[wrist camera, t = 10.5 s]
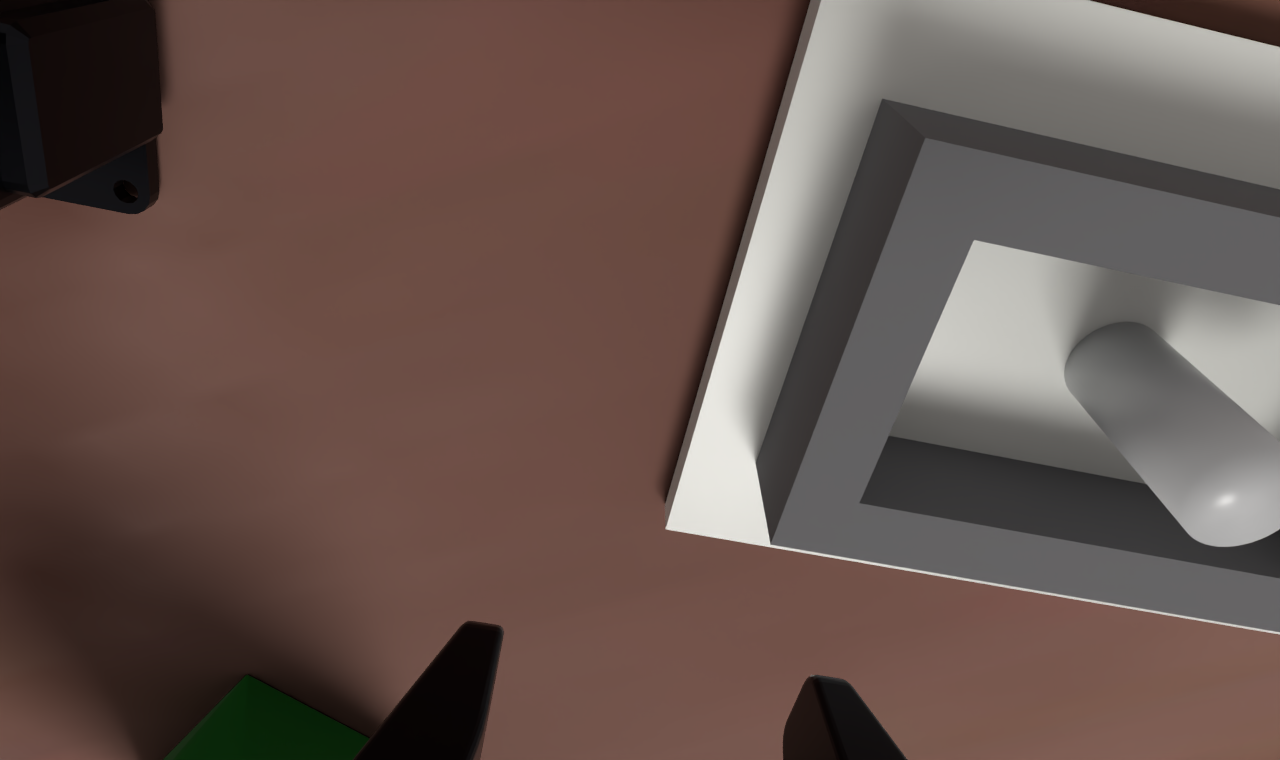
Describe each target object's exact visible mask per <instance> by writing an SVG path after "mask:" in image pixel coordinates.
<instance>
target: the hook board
mask: <svg viewBox="0 0 1280 760" xmlns="http://www.w3.org/2000/svg"><path fill="white" fill-rule="evenodd" d="M882 99H886V100H891V101H895V102H900V103H904V104H908V105H913V106H917V107H921V108H926V109H930V110H935V111H939V112H943V113H948V114H952V115H956V116H961V117H965V118H970V119H974V120H978V121H983V122H987V123H991V124H996V125H1000V126H1005V127H1009V128H1013V129H1018V130H1022V131H1026V132H1031V133H1035V134H1040V135H1044V136H1048V137H1053V138H1057V139H1061V140H1066V141H1070V142H1075V143H1079V144H1083V145H1088V146H1092V147H1096V148H1101V149H1105V150H1110V151H1114V152H1118V153H1123V154H1127V155H1131V156H1136V157H1140V158H1145V159H1149V160H1153V161H1158V162H1162V163H1166V164H1171V165H1175V166H1180V167H1184V168H1188V169H1193V170H1197V171H1201V172H1206V173H1210V174H1215V175H1219V176H1223V177H1228V178H1232V179H1236V180H1241V181H1245V182H1250V183H1254V184H1258V185H1263V186H1267V187H1271V188H1276V189H1280V47H1278V46H1274V45H1269V44H1265V43H1261V42H1257V41H1253V40H1249V39H1245V38H1241V37H1237V36H1233V35H1229V34H1225V33H1221V32H1217V31H1212V30H1208V29H1204V28H1200V27H1196V26H1192V25H1188V24H1184V23H1180V22H1176V21H1172V20H1168V19H1164V18H1160V17H1156V16H1151V15H1147V14H1143V13H1139V12H1135V11H1131V10H1127V9H1123V8H1119V7H1115V6H1111V5H1107V4H1103V3H1099V2H1094V1H1090V0H811V1H810V4H809V7H808V11H807V14H806V18H805V21H804V25H803V28H802V32H801V35H800V39H799V42H798V46H797V49H796V52H795V56H794V59H793V63H792V66H791V70H790V73H789V77H788V80H787V84H786V87H785V91H784V94H783V98H782V101H781V104H780V108H779V111H778V115H777V118H776V122H775V125H774V129H773V132H772V136H771V139H770V143H769V146H768V150H767V153H766V156H765V160H764V163H763V167H762V170H761V174H760V177H759V181H758V184H757V188H756V191H755V195H754V198H753V202H752V205H751V208H750V212H749V215H748V219H747V222H746V226H745V229H744V233H743V236H742V240H741V243H740V247H739V250H738V253H737V257H736V260H735V264H734V267H733V271H732V274H731V278H730V281H729V285H728V288H727V292H726V295H725V299H724V302H723V305H722V309H721V312H720V316H719V319H718V323H717V326H716V330H715V333H714V337H713V340H712V344H711V347H710V351H709V354H708V357H707V361H706V364H705V368H704V371H703V375H702V378H701V382H700V385H699V389H698V392H697V396H696V399H695V402H694V406H693V409H692V413H691V416H690V420H689V423H688V427H687V430H686V434H685V437H684V441H683V444H682V448H681V451H680V454H679V458H678V461H677V465H676V468H675V472H674V475H673V479H672V482H671V486H670V489H669V493H668V496H667V500H666V503H665V527H666V529H668V530H673V531H679V532H685V533H691V534H697V535H703V536H708V537H714V538H720V539H726V540H732V541H738V542H743V543H749V544H755V545H761V546H767V547H773V548H778V549H784V550H790V551H796V552H802V553H808V554H813V555H819V556H825V557H831V558H837V559H843V560H848V561H854V562H860V563H866V564H872V565H878V566H883V567H889V568H895V569H901V570H907V571H913V572H919V573H924V574H930V575H936V576H942V577H948V578H954V579H959V580H965V581H971V582H977V583H983V584H989V585H994V586H1000V587H1006V588H1012V589H1018V590H1024V591H1029V592H1035V593H1041V594H1047V595H1053V596H1059V597H1064V598H1070V599H1076V600H1082V601H1088V602H1094V603H1099V604H1105V605H1111V606H1117V607H1123V608H1129V609H1134V610H1140V611H1146V612H1152V613H1158V614H1164V615H1170V616H1175V617H1181V618H1187V619H1193V620H1199V621H1205V622H1210V623H1216V624H1222V625H1228V626H1234V627H1240V628H1245V629H1251V630H1257V631H1263V632H1269V633H1275V634H1280V632H1275V631H1269V630H1263V629H1258V628H1252V627H1246V626H1240V625H1234V624H1228V623H1223V622H1217V621H1211V620H1205V619H1199V618H1194V617H1188V616H1182V615H1176V614H1170V613H1165V612H1159V611H1153V610H1147V609H1141V608H1136V607H1130V606H1124V605H1118V604H1112V603H1107V602H1101V601H1095V600H1089V599H1083V598H1077V597H1072V596H1066V595H1060V594H1054V593H1048V592H1043V591H1037V590H1031V589H1025V588H1019V587H1014V586H1008V585H1002V584H996V583H990V582H985V581H979V580H973V579H967V578H961V577H956V576H950V575H944V574H938V573H932V572H927V571H921V570H915V569H909V568H903V567H897V566H892V565H886V564H880V563H874V562H868V561H863V560H857V559H851V558H845V557H839V556H834V555H828V554H822V553H816V552H810V551H805V550H799V549H793V548H787V547H781V546H776V545H771V544H770V539H769V534H768V528H767V523H766V517H765V512H764V507H763V501H762V496H761V490H760V485H759V480H758V474H757V469H756V461H757V458H758V455H759V452H760V449H761V446H762V444H763V441H764V438H765V435H766V432H767V429H768V426H769V423H770V421H771V418H772V415H773V412H774V409H775V406H776V403H777V400H778V397H779V395H780V392H781V389H782V386H783V383H784V380H785V377H786V374H787V372H788V369H789V366H790V363H791V360H792V357H793V354H794V351H795V348H796V346H797V343H798V340H799V337H800V334H801V331H802V328H803V325H804V323H805V320H806V317H807V314H808V311H809V308H810V305H811V302H812V299H813V297H814V294H815V291H816V288H817V285H818V282H819V279H820V276H821V274H822V271H823V268H824V265H825V262H826V259H827V256H828V253H829V251H830V248H831V245H832V242H833V239H834V236H835V233H836V230H837V227H838V225H839V222H840V219H841V216H842V213H843V210H844V207H845V204H846V202H847V199H848V196H849V193H850V190H851V187H852V184H853V181H854V178H855V176H856V173H857V170H858V167H859V164H860V161H861V158H862V155H863V153H864V150H865V147H866V144H867V141H868V138H869V135H870V132H871V129H872V127H873V124H874V121H875V118H876V115H877V112H878V109H879V106H880V104H881V101H882ZM889 436H893V437H899V438H904V439H909V440H915V441H920V442H925V443H931V444H936V445H941V446H947V447H952V448H957V449H963V450H968V451H973V452H979V453H984V454H989V455H994V456H1000V457H1005V458H1010V459H1016V460H1021V461H1026V462H1032V463H1037V464H1042V465H1048V466H1053V467H1058V468H1064V469H1069V470H1074V471H1080V472H1085V473H1090V474H1096V475H1101V476H1106V477H1112V478H1117V479H1122V480H1128V481H1133V482H1138V483H1144V484H1147V485H1148V486H1149V487H1150V489H1151V490H1152V491H1153V492H1154V493H1155V495H1156V496H1157V497H1158V498H1159V499H1160V501H1161V502H1162V503H1163V504H1164V505H1165V507H1166V508H1167V509H1168V510H1169V511H1170V513H1171V514H1172V515H1173V516H1174V517H1175V519H1176V520H1177V521H1178V522H1179V523H1180V525H1181V526H1182V527H1183V528H1184V529H1185V531H1186V532H1187V533H1188V534H1189V535H1190V536H1191V537H1192V538H1193V539H1195V540H1197V541H1199V542H1201V543H1203V544H1207V545H1211V546H1218V547H1231V546H1239V545H1244V544H1248V543H1252V542H1255V541H1257V540H1260V539H1262V538H1265V537H1267V536H1269V535H1271V534H1273V533H1274V532H1276V531H1278V530H1279V529H1280V305H1276V304H1271V303H1267V302H1262V301H1257V300H1253V299H1248V298H1243V297H1239V296H1234V295H1229V294H1225V293H1220V292H1215V291H1211V290H1206V289H1201V288H1197V287H1192V286H1187V285H1183V284H1178V283H1173V282H1168V281H1164V280H1159V279H1154V278H1150V277H1145V276H1140V275H1136V274H1131V273H1126V272H1122V271H1117V270H1112V269H1108V268H1103V267H1098V266H1094V265H1089V264H1084V263H1080V262H1075V261H1070V260H1066V259H1061V258H1056V257H1052V256H1047V255H1042V254H1038V253H1033V252H1028V251H1024V250H1019V249H1014V248H1009V247H1005V246H1000V245H995V244H991V243H986V242H981V241H977V240H974V241H973V243H972V245H971V248H970V250H969V252H968V255H967V257H966V259H965V262H964V264H963V266H962V268H961V271H960V273H959V275H958V278H957V280H956V282H955V284H954V287H953V289H952V291H951V294H950V296H949V298H948V301H947V303H946V305H945V307H944V310H943V312H942V314H941V317H940V319H939V321H938V324H937V326H936V328H935V330H934V333H933V335H932V337H931V340H930V342H929V344H928V346H927V349H926V351H925V353H924V356H923V358H922V360H921V363H920V365H919V367H918V369H917V372H916V374H915V376H914V379H913V381H912V383H911V386H910V388H909V390H908V392H907V395H906V397H905V399H904V402H903V404H902V406H901V409H900V411H899V413H898V415H897V418H896V420H895V422H894V425H893V427H892V429H891V431H890V434H889Z"/></svg>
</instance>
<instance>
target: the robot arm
mask: <svg viewBox="0 0 1280 760" xmlns="http://www.w3.org/2000/svg"><path fill="white" fill-rule="evenodd" d="M162 130H163V123H162V109H161V94H160V80H159V66H158V52H157V37H156V23H155V11H154V9H153V7H152V6H151V4H150V3H149V2H148V0H0V210H1V209H3V208H5V207H7V206H9V205H11V204H13V203H15V202H17V201H19V200H21V199H23V198H25V197H27V196H29V197H34V198H39V197H45V198H50V199H55V200H60V201H65V202H70V203H75V204H81V205H86V206H91V207H96V208H101V209H106V210H111V211H116V212H121V213H126V214H138V213H140V212H142V211H145V210H146V209H148V208H149V207H151V206H152V205H154V204H155V202H156V201H157V200H158V196H159V180H158V167H157V153H156V140H155V138H156V137H157V136H158V135H159V134H160V133H161V132H162ZM124 180H126V181H128V182H130V183H132V184H133V185H134V186H135V187H136V189H137V192H138V197H135V196H132V195H130V194H129V193H128V192H127V191H126V190H125V187H124V184H123V182H124ZM503 635H504V631H503V628H502V627H501V626H499V625H495V624H488V623H482V622H475V621H467V622H465V623H464V624H463V625H461V627H460V628H459V629H458V630H457V631H456V633H455V634H454V635H453V636H452V638H451V639H450V640H449V641H448V642H447V644H446V645H445V646H444V647H443V649H442V650H441V651H440V652H439V654H438V655H437V656H436V657H435V659H434V660H433V661H432V662H431V663H430V665H429V666H428V667H427V668H426V670H425V671H424V672H423V673H422V675H421V676H420V677H419V678H418V680H417V681H416V682H415V683H414V685H413V686H412V687H411V688H410V689H409V691H408V692H407V693H406V694H405V696H404V697H403V698H402V699H401V701H400V702H399V703H398V704H397V706H396V707H395V708H394V709H393V711H392V712H391V713H390V714H389V715H388V717H387V718H386V719H385V720H384V722H383V723H382V724H381V725H380V727H379V728H378V729H377V730H376V732H375V733H374V734H373V735H372V736H371V738H370V739H369V740H368V741H367V743H366V744H365V745H364V746H363V748H362V749H361V750H360V751H359V753H358V754H357V755H356V756H355V758H354V759H353V760H480V757H481V752H482V747H483V742H484V736H485V731H486V726H487V721H488V715H489V710H490V705H491V700H492V694H493V689H494V684H495V678H496V673H497V668H498V662H499V657H500V651H501V646H502V641H503ZM783 760H907V759H906V757H905V756H904V755H903V753H902V752H901V751H900V749H899V748H898V747H897V745H896V744H895V743H894V741H893V740H892V739H891V737H890V736H889V735H888V733H887V732H886V731H885V729H884V728H883V727H882V725H881V724H880V723H879V721H878V720H877V719H876V717H875V716H874V715H873V713H872V712H871V711H870V709H869V708H868V707H867V705H866V704H865V703H864V701H863V700H862V699H861V697H860V696H859V695H858V693H857V692H856V691H855V689H854V688H853V687H852V686H851V684H849V683H848V682H847V681H845V680H843V679H839V678H833V677H826V676H820V675H811V676H810V677H808V678H807V679H806V681H805V682H804V684H803V686H802V689H801V691H800V693H799V695H798V697H797V700H796V702H795V704H794V706H793V708H792V711H791V713H790V715H789V717H788V719H787V722H786V725H785V729H784V735H783Z"/></svg>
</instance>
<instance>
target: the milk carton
mask: <svg viewBox="0 0 1280 760" xmlns="http://www.w3.org/2000/svg"><path fill="white" fill-rule="evenodd" d="M369 739H370V738H368V737H366V736H364V735H362V734H360V733H358V732H356V731H354V730H352V729H350V728H349V727H347V726H345V725H343V724H341V723H339V722H337V721H335V720H333V719H331V718H329V717H328V716H326V715H324V714H322V713H320V712H318V711H316V710H314V709H312V708H310V707H308V706H307V705H305V704H303V703H301V702H299V701H297V700H295V699H293V698H291V697H289V696H287V695H286V694H284V693H282V692H280V691H278V690H276V689H274V688H272V687H270V686H268V685H266V684H265V683H263V682H261V681H259V680H257V679H255V678H253V677H251V676H249V675H246V676H245V677H244V678H243V679H242V680H241V681H240V682H239V683H238V684H237V685H236V686H235V687H234V688H233V689H232V690H231V691H230V692H229V693H228V694H227V695H226V696H225V697H224V698H223V699H222V700H221V701H220V702H219V703H218V704H217V705H216V706H215V707H214V708H213V709H212V710H211V711H210V712H209V713H208V714H207V715H206V716H205V717H204V718H203V719H202V720H201V721H200V722H199V723H198V724H197V725H196V726H195V727H194V728H193V729H192V731H191V732H190V733H189V734H188V735H187V736H186V737H185V738H184V739H183V740H182V741H181V742H180V743H179V744H178V745H177V746H176V747H175V748H174V749H173V750H172V751H171V752H170V753H169V754H168V755H167V756H166V757H165V758H164V759H163V760H353V759H354V758H355V756H356V755H357V754H358V753H359V751H360V750H361V749H362V748H363V746H364V745H365V744H366V743H367V741H368V740H369Z"/></svg>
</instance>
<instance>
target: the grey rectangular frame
mask: <svg viewBox="0 0 1280 760" xmlns="http://www.w3.org/2000/svg"><path fill="white" fill-rule="evenodd" d="M974 240H977V241H981V242H986V243H991V244H995V245H1000V246H1005V247H1009V248H1014V249H1019V250H1024V251H1028V252H1033V253H1038V254H1042V255H1047V256H1052V257H1056V258H1061V259H1066V260H1070V261H1075V262H1080V263H1084V264H1089V265H1094V266H1098V267H1103V268H1108V269H1112V270H1117V271H1122V272H1126V273H1131V274H1136V275H1140V276H1145V277H1150V278H1154V279H1159V280H1164V281H1168V282H1173V283H1178V284H1183V285H1187V286H1192V287H1197V288H1201V289H1206V290H1211V291H1215V292H1220V293H1225V294H1229V295H1234V296H1239V297H1243V298H1248V299H1253V300H1257V301H1262V302H1267V303H1271V304H1276V305H1280V189H1276V188H1271V187H1267V186H1263V185H1258V184H1254V183H1250V182H1245V181H1241V180H1236V179H1232V178H1228V177H1223V176H1219V175H1215V174H1210V173H1206V172H1201V171H1197V170H1193V169H1188V168H1184V167H1180V166H1175V165H1171V164H1166V163H1162V162H1158V161H1153V160H1149V159H1145V158H1140V157H1136V156H1131V155H1127V154H1123V153H1118V152H1114V151H1110V150H1105V149H1101V148H1096V147H1092V146H1088V145H1083V144H1079V143H1075V142H1070V141H1066V140H1061V139H1057V138H1053V137H1048V136H1044V135H1040V134H1035V133H1031V132H1026V131H1022V130H1018V129H1013V128H1009V127H1005V126H1000V125H996V124H991V123H987V122H983V121H978V120H974V119H970V118H965V117H961V116H956V115H952V114H948V113H943V112H939V111H935V110H930V109H926V108H921V107H917V106H913V105H908V104H904V103H900V102H895V101H891V100H886V99H882V101H881V104H880V106H879V109H878V112H877V115H876V118H875V121H874V124H873V127H872V129H871V132H870V135H869V138H868V141H867V144H866V147H865V150H864V153H863V155H862V158H861V161H860V164H859V167H858V170H857V173H856V176H855V178H854V181H853V184H852V187H851V190H850V193H849V196H848V199H847V202H846V204H845V207H844V210H843V213H842V216H841V219H840V222H839V225H838V227H837V230H836V233H835V236H834V239H833V242H832V245H831V248H830V251H829V253H828V256H827V259H826V262H825V265H824V268H823V271H822V274H821V276H820V279H819V282H818V285H817V288H816V291H815V294H814V297H813V299H812V302H811V305H810V308H809V311H808V314H807V317H806V320H805V323H804V325H803V328H802V331H801V334H800V337H799V340H798V343H797V346H796V348H795V351H794V354H793V357H792V360H791V363H790V366H789V369H788V372H787V374H786V377H785V380H784V383H783V386H782V389H781V392H780V395H779V397H778V400H777V403H776V406H775V409H774V412H773V415H772V418H771V421H770V423H769V426H768V429H767V432H766V435H765V438H764V441H763V444H762V446H761V449H760V452H759V455H758V458H757V461H756V469H757V474H758V480H759V485H760V490H761V496H762V501H763V507H764V512H765V517H766V523H767V528H768V534H769V539H770V544H771V545H776V546H781V547H787V548H793V549H799V550H805V551H810V552H816V553H822V554H828V555H834V556H839V557H845V558H851V559H857V560H863V561H868V562H874V563H880V564H886V565H892V566H897V567H903V568H909V569H915V570H921V571H927V572H932V573H938V574H944V575H950V576H956V577H961V578H967V579H973V580H979V581H985V582H990V583H996V584H1002V585H1008V586H1014V587H1019V588H1025V589H1031V590H1037V591H1043V592H1048V593H1054V594H1060V595H1066V596H1072V597H1077V598H1083V599H1089V600H1095V601H1101V602H1107V603H1112V604H1118V605H1124V606H1130V607H1136V608H1141V609H1147V610H1153V611H1159V612H1165V613H1170V614H1176V615H1182V616H1188V617H1194V618H1199V619H1205V620H1211V621H1217V622H1223V623H1228V624H1234V625H1240V626H1246V627H1252V628H1258V629H1263V630H1269V631H1275V632H1280V529H1279V530H1278V531H1276V532H1274V533H1273V534H1271V535H1269V536H1267V537H1265V538H1262V539H1260V540H1257V541H1255V542H1252V543H1248V544H1244V545H1239V546H1231V547H1218V546H1211V545H1207V544H1203V543H1201V542H1199V541H1197V540H1195V539H1193V538H1192V537H1191V536H1190V535H1189V534H1188V533H1187V532H1186V531H1185V529H1184V528H1183V527H1182V526H1181V525H1180V523H1179V522H1178V521H1177V520H1176V519H1175V517H1174V516H1173V515H1172V514H1171V513H1170V511H1169V510H1168V509H1167V508H1166V507H1165V505H1164V504H1163V503H1162V502H1161V501H1160V499H1159V498H1158V497H1157V496H1156V495H1155V493H1154V492H1153V491H1152V490H1151V489H1150V487H1149V486H1148V485H1147V484H1144V483H1138V482H1133V481H1128V480H1122V479H1117V478H1112V477H1106V476H1101V475H1096V474H1090V473H1085V472H1080V471H1074V470H1069V469H1064V468H1058V467H1053V466H1048V465H1042V464H1037V463H1032V462H1026V461H1021V460H1016V459H1010V458H1005V457H1000V456H994V455H989V454H984V453H979V452H973V451H968V450H963V449H957V448H952V447H947V446H941V445H936V444H931V443H925V442H920V441H915V440H909V439H904V438H899V437H893V436H889V434H890V431H891V429H892V427H893V425H894V422H895V420H896V418H897V415H898V413H899V411H900V409H901V406H902V404H903V402H904V399H905V397H906V395H907V392H908V390H909V388H910V386H911V383H912V381H913V379H914V376H915V374H916V372H917V369H918V367H919V365H920V363H921V360H922V358H923V356H924V353H925V351H926V349H927V346H928V344H929V342H930V340H931V337H932V335H933V333H934V330H935V328H936V326H937V324H938V321H939V319H940V317H941V314H942V312H943V310H944V307H945V305H946V303H947V301H948V298H949V296H950V294H951V291H952V289H953V287H954V284H955V282H956V280H957V278H958V275H959V273H960V271H961V268H962V266H963V264H964V262H965V259H966V257H967V255H968V252H969V250H970V248H971V245H972V243H973V241H974Z"/></svg>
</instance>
